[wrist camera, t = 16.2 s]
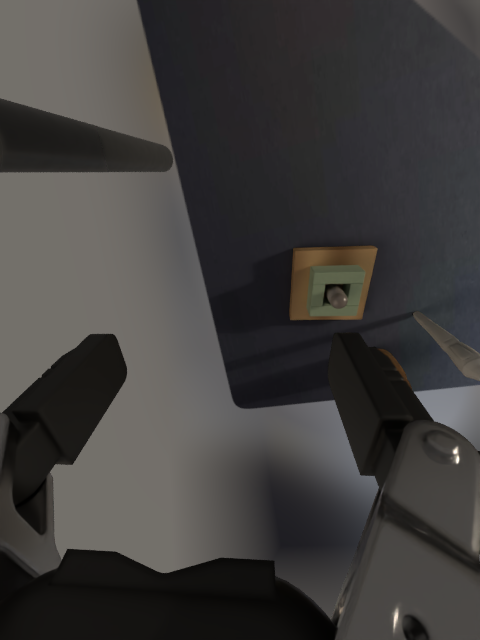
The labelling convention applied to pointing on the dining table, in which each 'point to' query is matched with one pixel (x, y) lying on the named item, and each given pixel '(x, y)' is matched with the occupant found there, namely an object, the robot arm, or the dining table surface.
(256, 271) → the dining table surface
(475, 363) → the pen
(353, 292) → the green square ring block
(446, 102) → the dining table surface
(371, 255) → the base pad
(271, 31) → the dining table surface
